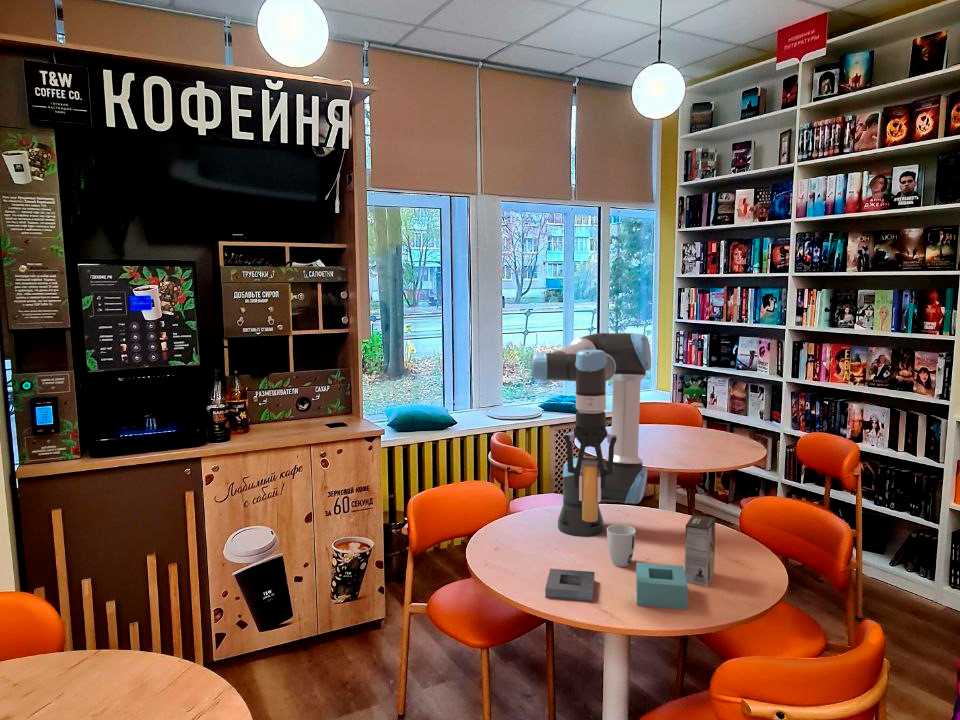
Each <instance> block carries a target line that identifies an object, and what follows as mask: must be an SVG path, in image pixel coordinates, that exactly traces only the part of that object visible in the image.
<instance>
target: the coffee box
mask: <svg viewBox="0 0 960 720" xmlns="http://www.w3.org/2000/svg"><path fill="white" fill-rule="evenodd" d="M716 521H717V520H716V517H709V516H702V515H694V514H693V515H691V517H690V518H689V519H688V521H687V523H686V524H685V535H684V537H685V538H684V539H685V541H684V542H685V544H684V545H685V546H684V547H685V548H684V552H685V553H684V554H685V555H684V572H685V576H686V581H687V584H688V583H689V584H693V585H694V584H695V585H698V586H705V587H709V585H710V583H711V581H712V579H713V577H714V575H715V555H716V554H715V552H716V549H715V548H716Z"/></svg>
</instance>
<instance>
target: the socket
mask: <svg viewBox="0 0 960 720" xmlns="http://www.w3.org/2000/svg"><path fill="white" fill-rule="evenodd" d="M635 564H636V566H635V567H636V568H635V569H636V571H635V574H636V575H635V586H636V587H635V588H636V589H635V591H636V606H641V607H650V608H651V607H652V608H665V609H676V610H688V595H689V594H688V592H689V589H688V588H689V586H688V585H689V584H688V582H687V581H686V576H685V566H684V565H671V564H659V563H646V562H645V563H644V562H636V563H635Z"/></svg>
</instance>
